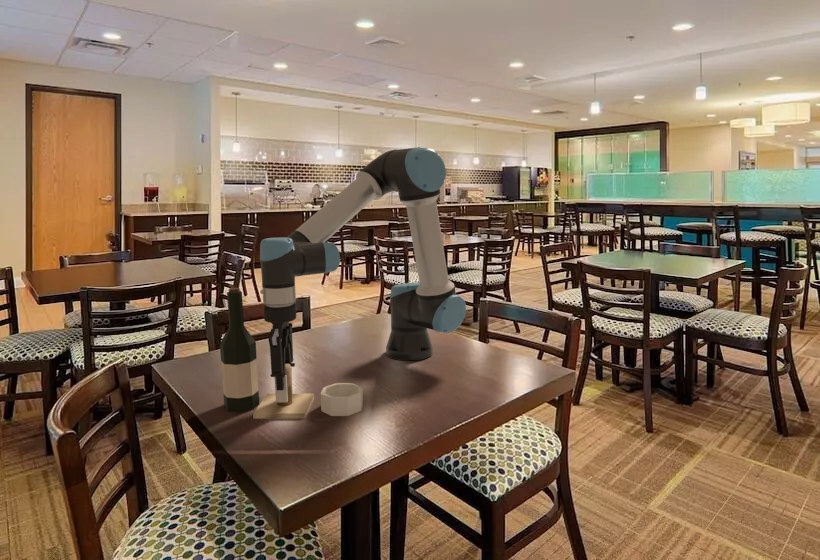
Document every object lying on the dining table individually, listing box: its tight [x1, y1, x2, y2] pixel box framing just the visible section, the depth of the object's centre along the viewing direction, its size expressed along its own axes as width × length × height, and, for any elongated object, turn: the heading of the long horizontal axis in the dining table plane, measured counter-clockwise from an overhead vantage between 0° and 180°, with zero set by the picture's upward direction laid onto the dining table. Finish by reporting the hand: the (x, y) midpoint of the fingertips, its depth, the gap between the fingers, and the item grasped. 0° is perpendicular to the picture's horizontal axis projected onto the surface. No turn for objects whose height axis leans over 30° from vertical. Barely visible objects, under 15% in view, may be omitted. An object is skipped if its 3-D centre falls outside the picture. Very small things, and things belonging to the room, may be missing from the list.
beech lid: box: [252, 363, 315, 419], centre depth 130 cm, size 12×12×11 cm
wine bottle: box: [219, 287, 260, 414], centre depth 130 cm, size 8×8×30 cm
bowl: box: [320, 382, 364, 417], centre depth 130 cm, size 10×10×5 cm
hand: (284, 397), depth 130 cm, fingers open, 4 cm apart
